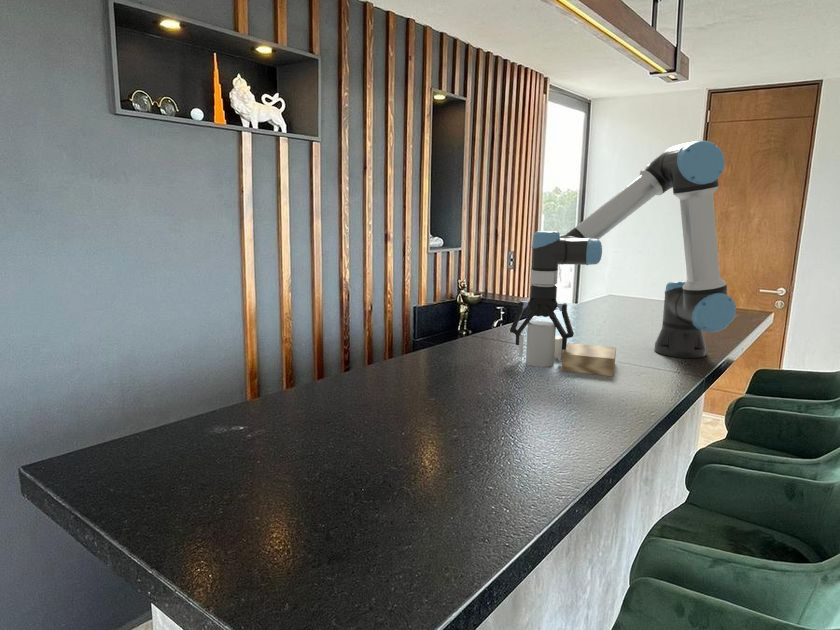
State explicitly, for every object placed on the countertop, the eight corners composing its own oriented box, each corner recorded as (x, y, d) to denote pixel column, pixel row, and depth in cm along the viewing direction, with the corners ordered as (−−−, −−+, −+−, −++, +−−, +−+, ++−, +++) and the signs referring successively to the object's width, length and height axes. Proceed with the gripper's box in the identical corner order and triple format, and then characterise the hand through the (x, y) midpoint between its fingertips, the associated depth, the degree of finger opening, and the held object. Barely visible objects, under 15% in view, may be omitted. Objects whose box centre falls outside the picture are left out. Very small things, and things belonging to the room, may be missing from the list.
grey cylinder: (552, 360, 177) (554, 321, 174) (555, 367, 169) (557, 327, 166) (524, 359, 177) (526, 320, 175) (527, 366, 169) (528, 326, 167)
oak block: (614, 363, 173) (616, 347, 172) (613, 376, 160) (614, 358, 159) (566, 358, 178) (567, 343, 177) (561, 370, 165) (562, 353, 164)
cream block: (565, 355, 183) (566, 336, 182) (563, 358, 178) (564, 339, 177) (549, 353, 185) (550, 335, 184) (547, 357, 180) (548, 338, 179)
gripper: (586, 285, 168) (581, 358, 172) (506, 281, 176) (504, 351, 180) (584, 288, 161) (579, 365, 165) (501, 284, 169) (498, 357, 173)
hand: (540, 358), depth 173 cm, fingers open, 11 cm apart
